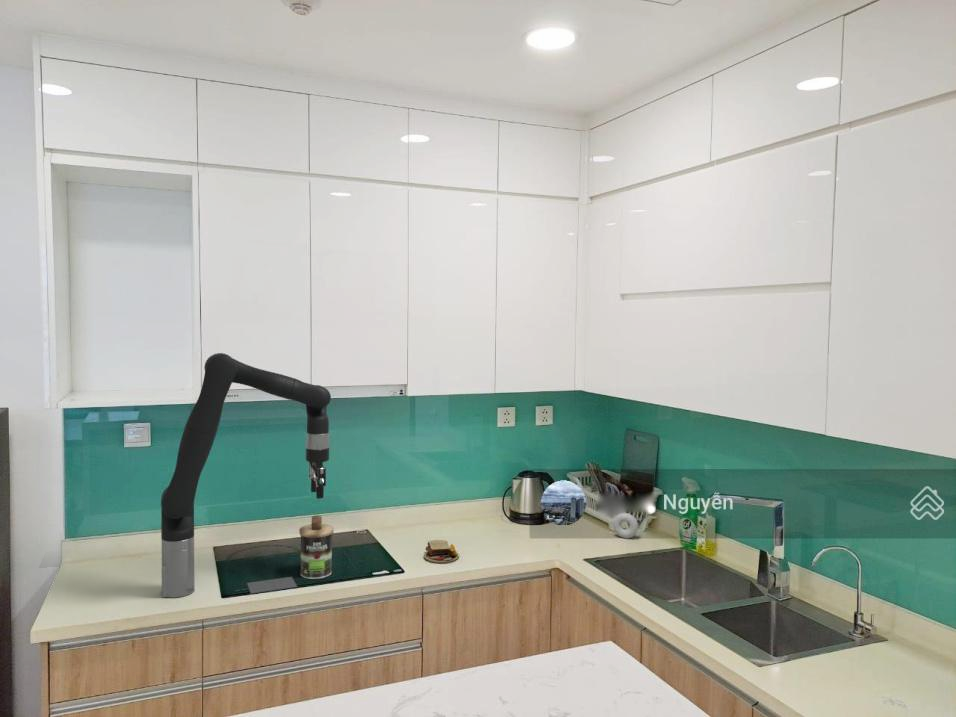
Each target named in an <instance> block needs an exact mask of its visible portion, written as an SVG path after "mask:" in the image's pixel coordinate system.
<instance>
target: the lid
mask: <svg viewBox="0 0 956 717" xmlns="http://www.w3.org/2000/svg"><path fill="white" fill-rule="evenodd" d="M322 518H323V517H322V515H312V516H311V524H306V525H303V526H301V527H300V528H299V530H298V531H299V535H300V537H301V536H304V537H310V538H318V537H325V536H328V535H331V534H332V535H333V534H334V530H335V529H334V528H335V527H334V526H333V525H330V524H327V523H322V521H323V520H322Z"/></svg>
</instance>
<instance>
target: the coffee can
mask: <svg viewBox="0 0 956 717" xmlns="http://www.w3.org/2000/svg"><path fill="white" fill-rule="evenodd" d="M332 548H333V533H332V534H331V535H328V536H325V537H318V538H310V537H304V536H301V535H300V576H301V577H302V578H304V579H312V580H314V579H322V578H326V577H329V576H330V575H331V574H332V572H333V571H332V569H333V568H332V567H333V566H332V564H333V563H332V559H333V558H332V556H333V549H332Z"/></svg>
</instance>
